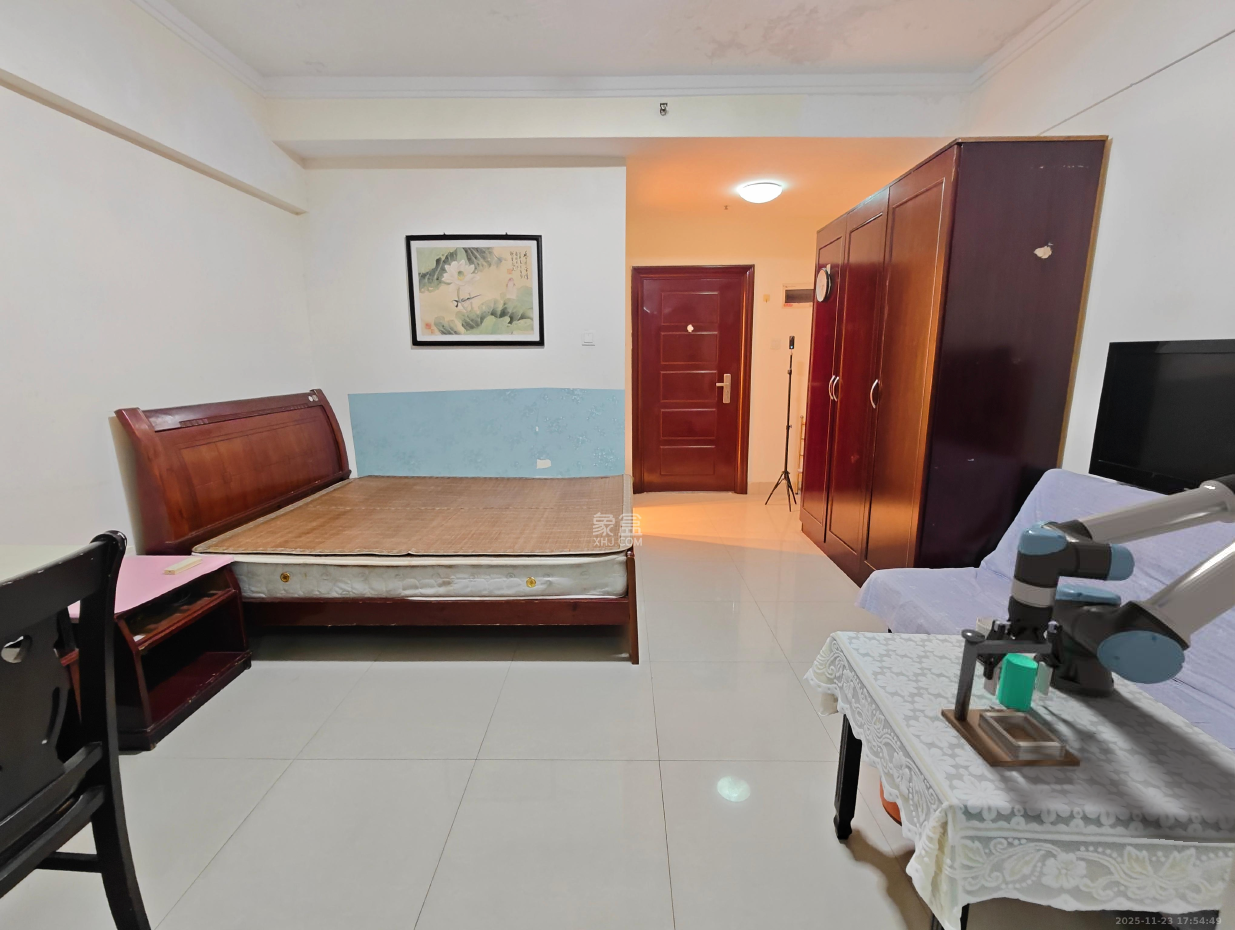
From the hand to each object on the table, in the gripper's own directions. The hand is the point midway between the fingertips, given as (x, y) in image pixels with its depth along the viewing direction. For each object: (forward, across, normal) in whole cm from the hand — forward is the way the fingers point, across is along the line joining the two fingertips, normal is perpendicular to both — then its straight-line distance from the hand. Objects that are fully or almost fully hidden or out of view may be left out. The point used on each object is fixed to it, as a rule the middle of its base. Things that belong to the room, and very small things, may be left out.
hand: (1015, 692), depth 118 cm
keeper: (+1, +10, +7) cm, 12 cm away
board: (+3, +10, +12) cm, 16 cm away
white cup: (+3, -7, -17) cm, 19 cm away
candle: (+3, 0, 0) cm, 3 cm away
